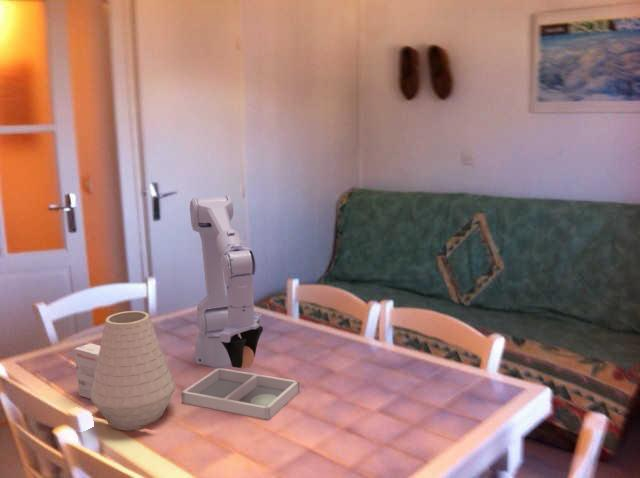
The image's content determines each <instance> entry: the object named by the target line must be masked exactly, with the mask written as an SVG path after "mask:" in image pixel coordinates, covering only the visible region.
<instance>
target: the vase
mask: <svg viewBox="0 0 640 478" xmlns="http://www.w3.org/2000/svg"><path fill="white" fill-rule="evenodd" d="M99 346H100V350H99V355H98V360H97V365H96V370H95V375H94V380H93V385H92V390H91V399H90V400H91V402H92V404H93V405H94V407H95V408H96V409H97V410H98V411H99V413H100V414H101V415H102V417H103V418H104V419H105V421H107V423H108V424H109V426H110V427H111V428H113V429H114V430H118V431H123V432H127V431H128V432H130V431H131V432H132V431H139V430H143V429H145V427H143V426H147V425H150V424H152V423H154V422H156V421H157V420H159V419H160V418H161V417H162V416H163V415H164V413H165V411H166V409H167V406H168V405H169V403H170V400H171V399H172V397H173V394H174V392H175V389H176V382H175V380H174V377H173V375H172V372H171V369H170V367H169V366H170V365H169V364H168V361H167V359H166V356H165V353H164V351H163V348H162V346H161V343H160V340H159V338H158V335H157V332H156V330H155V327H154V325H153V322H152V320H151V317H150V314H149V313H147V312H146V311H143V310H128V311H127V310H126V311H121V312H115V313H113V314H111V315H108V316H107V317H106V318H105V321H104V326H103V332H102V337H101V340H100V345H99Z"/></svg>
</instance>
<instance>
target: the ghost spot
mask: <svg viewBox="0 0 640 478" xmlns="http://www.w3.org/2000/svg"><path fill="white" fill-rule="evenodd" d="M276 398H277V396H275V395H271V394H262V395H258V396H255V397H253V398H252V399H251V401H250V402H251V404H256V405H261V406H268V405H269V404H270V403H271V402H272V401H273V400H275V399H276Z"/></svg>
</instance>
